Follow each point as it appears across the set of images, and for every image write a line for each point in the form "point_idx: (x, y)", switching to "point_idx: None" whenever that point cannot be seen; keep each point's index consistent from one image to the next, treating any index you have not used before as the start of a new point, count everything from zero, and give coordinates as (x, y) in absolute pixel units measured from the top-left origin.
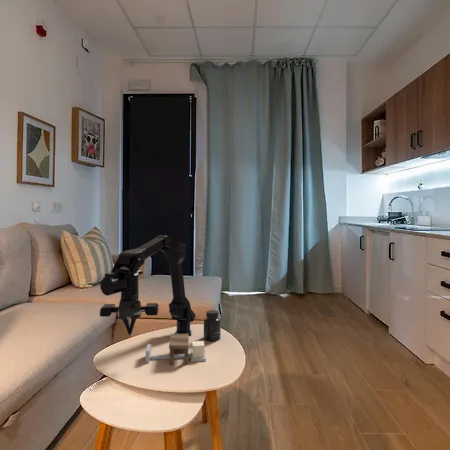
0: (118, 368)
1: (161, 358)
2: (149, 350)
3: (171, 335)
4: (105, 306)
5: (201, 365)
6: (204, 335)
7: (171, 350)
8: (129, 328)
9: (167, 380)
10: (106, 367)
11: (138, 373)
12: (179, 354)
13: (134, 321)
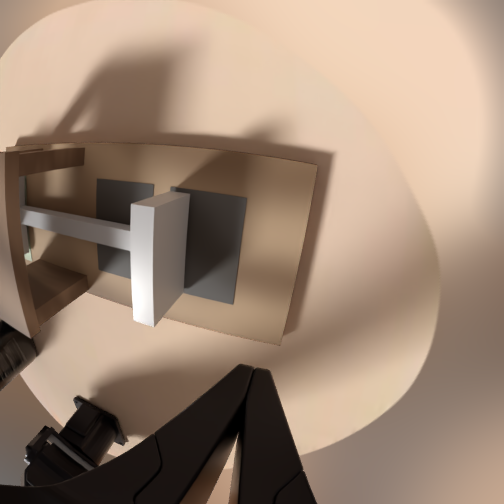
0: (353, 211)
1: (112, 222)
2: (132, 221)
3: (21, 316)
4: None
5: None
6: (16, 348)
7: (21, 153)
8: (241, 430)
9: (115, 40)
10: (413, 244)
11: (238, 115)
12: (44, 225)
13: (89, 486)
